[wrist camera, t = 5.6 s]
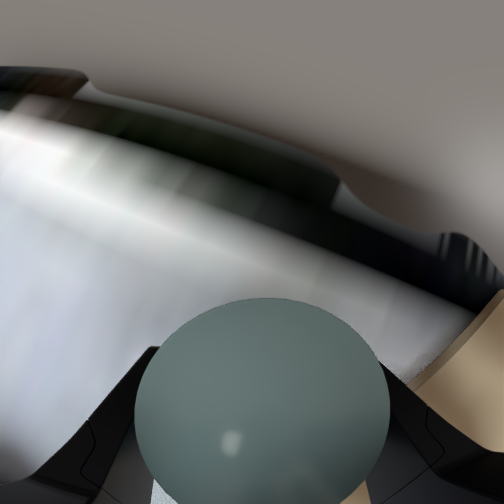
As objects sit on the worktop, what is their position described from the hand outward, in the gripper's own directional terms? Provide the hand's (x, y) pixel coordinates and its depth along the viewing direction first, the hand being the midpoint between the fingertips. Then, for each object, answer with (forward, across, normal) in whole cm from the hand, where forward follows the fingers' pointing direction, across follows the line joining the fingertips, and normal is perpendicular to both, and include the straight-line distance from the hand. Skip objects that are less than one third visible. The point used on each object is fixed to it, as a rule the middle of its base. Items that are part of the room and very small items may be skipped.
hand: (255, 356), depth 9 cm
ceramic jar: (+4, 0, +6) cm, 7 cm away
